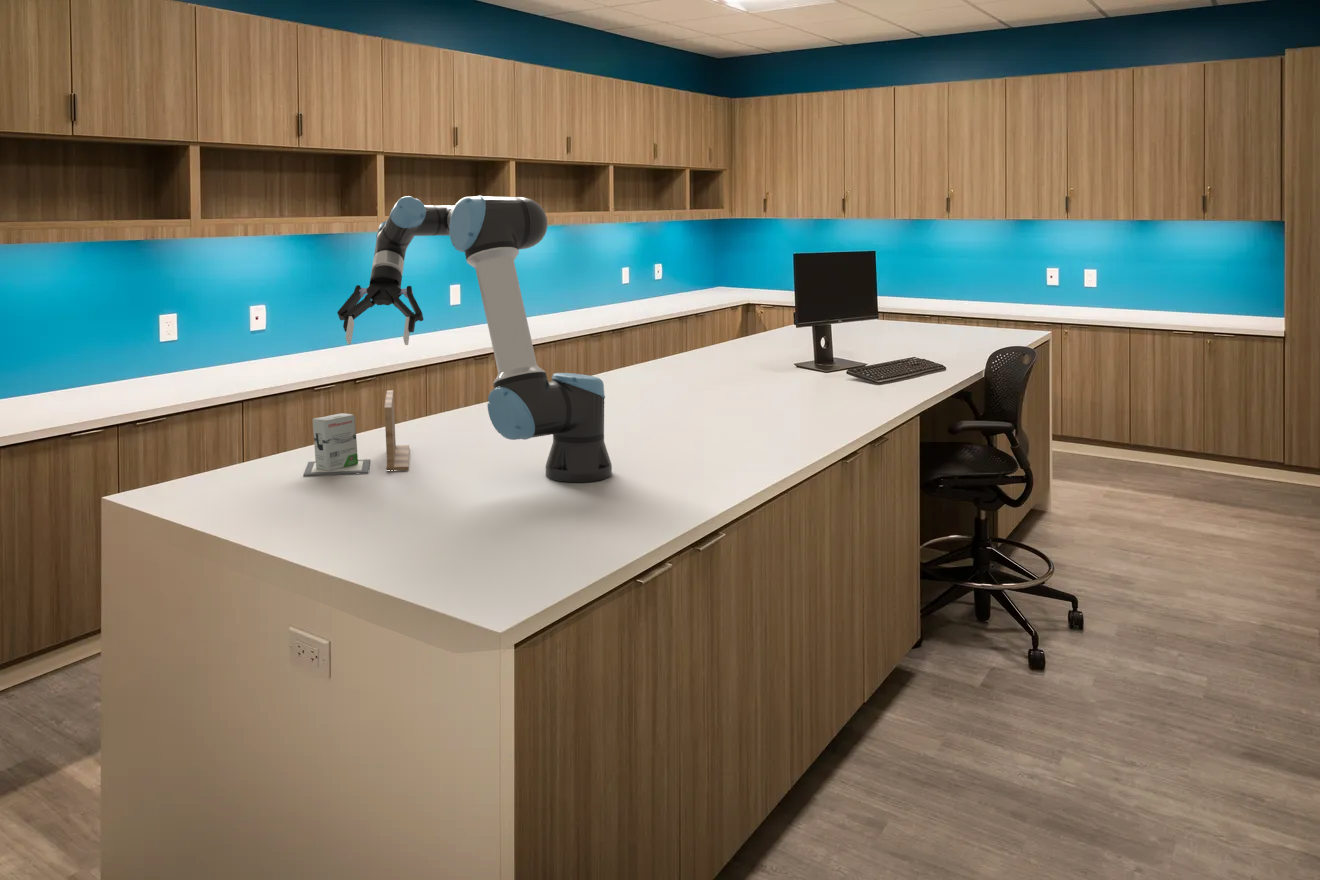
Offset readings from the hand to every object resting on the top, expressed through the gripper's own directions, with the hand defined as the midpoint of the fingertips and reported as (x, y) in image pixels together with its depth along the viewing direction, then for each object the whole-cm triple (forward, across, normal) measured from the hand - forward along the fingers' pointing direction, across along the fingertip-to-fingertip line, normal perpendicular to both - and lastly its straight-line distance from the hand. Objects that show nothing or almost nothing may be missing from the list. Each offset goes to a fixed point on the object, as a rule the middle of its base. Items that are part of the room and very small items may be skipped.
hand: (376, 341), depth 249 cm
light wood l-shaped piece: (+24, -5, -15) cm, 29 cm away
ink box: (+29, +8, -10) cm, 32 cm away
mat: (+30, +7, -10) cm, 32 cm away
